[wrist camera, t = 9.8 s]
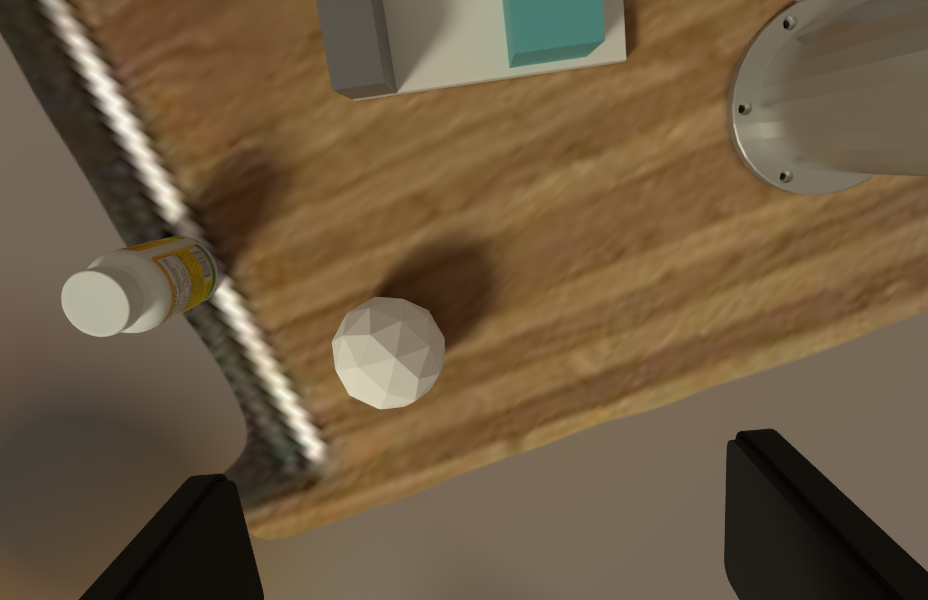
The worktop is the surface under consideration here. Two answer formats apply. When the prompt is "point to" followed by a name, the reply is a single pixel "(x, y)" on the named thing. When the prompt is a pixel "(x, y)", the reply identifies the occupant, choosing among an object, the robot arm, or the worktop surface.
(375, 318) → the ball
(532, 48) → the cube
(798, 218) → the worktop surface
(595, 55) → the strip with cube
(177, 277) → the supplement bottle
